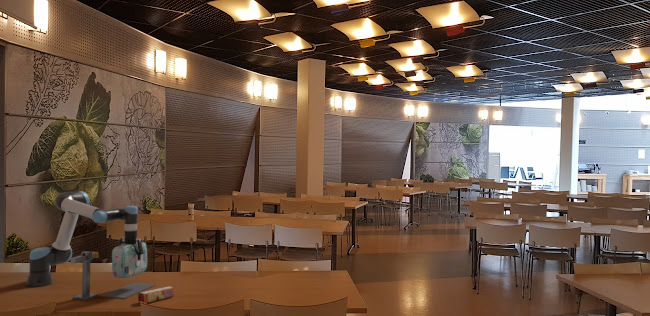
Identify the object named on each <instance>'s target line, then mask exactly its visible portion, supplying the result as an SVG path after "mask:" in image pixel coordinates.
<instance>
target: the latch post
mask: <svg viewBox="0 0 650 316" xmlns="http://www.w3.org/2000/svg"><path fill="white" fill-rule="evenodd" d="M92 252H93V251H86V250H85V251H81V252H80V255H84V254H87V260H86V261H82V276H81V279H82V282H81V293H79V294H76V295H74V296H72V300H79V301H80V300H81V301H89V300H91V299H94V298H96V297H98V296H100V294H99V293H96V292H95V293H94V292H91V262H92V261H93V259H92Z"/></svg>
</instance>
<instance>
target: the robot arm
mask: <svg viewBox="0 0 650 316" xmlns="http://www.w3.org/2000/svg"><path fill="white" fill-rule="evenodd" d="M54 205H55V207H56V208H57V209H58V210H60V211H63V212H65V213H64V215H63V217H62V221H61V224H60V228H59V231H58V233H57V236H56V239H55V241H54V242H53V243H52V244H51V247H47V246H44V247H43V246H42V247H37V248H34V249H32V250H31V251H30V253H29V274H28V275H27V279H26V281H25V282H26V283H25V286H26V285H27V287H29V286H30V287H31V288H34V287H35V288H36V287H44V286H45V287H46V286H49V285H52V284H53V277H52V274H51V270H50V268H51V267H52V266H56V265H62V264H65V263H67V262H69V261H71V258H73V257H72V256H73V249H72V247H71V245H70V243H71V240H72V237H73V234H74V231H75V228H76V226H77V221H78V220H79V219H78V218H79V215H80V216H82V217H86V218H88V219H90V220H92V221H93V222H94V223H96V224H102V223H107V222H115V221H124V237H121V238H119V240H120V242H119V245H118V246H120V245H121V244H132V245H133V246H134V247H135V251H136V253H137V255H136V266H138V265H140V260H141V255H142V254H144V252H143V248H142V244H141V242H142V239H141V238H138V237H137V236H138V213H139V212H138V206H136V205H127V206H125V207H124V208H120V207H114V208H110V209H102V208H100V207H97V206H93V205H90V196H89V195H88V193H86V192H85V191H83V190H82V191H80V190H77V191H64V192H60V193H59V194H57V196H55V198H54ZM136 242H137V243H136ZM137 245H138V246H137Z"/></svg>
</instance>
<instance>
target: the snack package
mask: <svg viewBox="0 0 650 316" xmlns="http://www.w3.org/2000/svg"><path fill="white" fill-rule="evenodd" d="M137 294H138V296H137V299H138V302H139V303H140V301H142V302H145V303H146V304H148V303H147V302H149V303H153V302H157V301H160V300H161V301H162V300H165V299H170V298H173V297H174V294H175V289H174V287H173V286H165V287H160V288H155V289H150V290H144V291H142V292H139V293H137ZM169 297H170V298H169Z"/></svg>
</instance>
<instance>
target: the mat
mask: <svg viewBox="0 0 650 316" xmlns="http://www.w3.org/2000/svg"><path fill="white" fill-rule="evenodd" d="M155 286H156V284H155V283H154V284H152V283H143V282H133V283H130V284H128V285H125V286H123V287H120V288H117V289H115V290H112V291H110V292H108V293H105V294H102V295H101V297H104V298H110V299H111V298H112V299H123V300H125V299H127V298H130V297H132V296H135V295H136V294H139V293H140V292H145V291H147V290H148V289H150V288H153V287H155Z"/></svg>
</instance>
